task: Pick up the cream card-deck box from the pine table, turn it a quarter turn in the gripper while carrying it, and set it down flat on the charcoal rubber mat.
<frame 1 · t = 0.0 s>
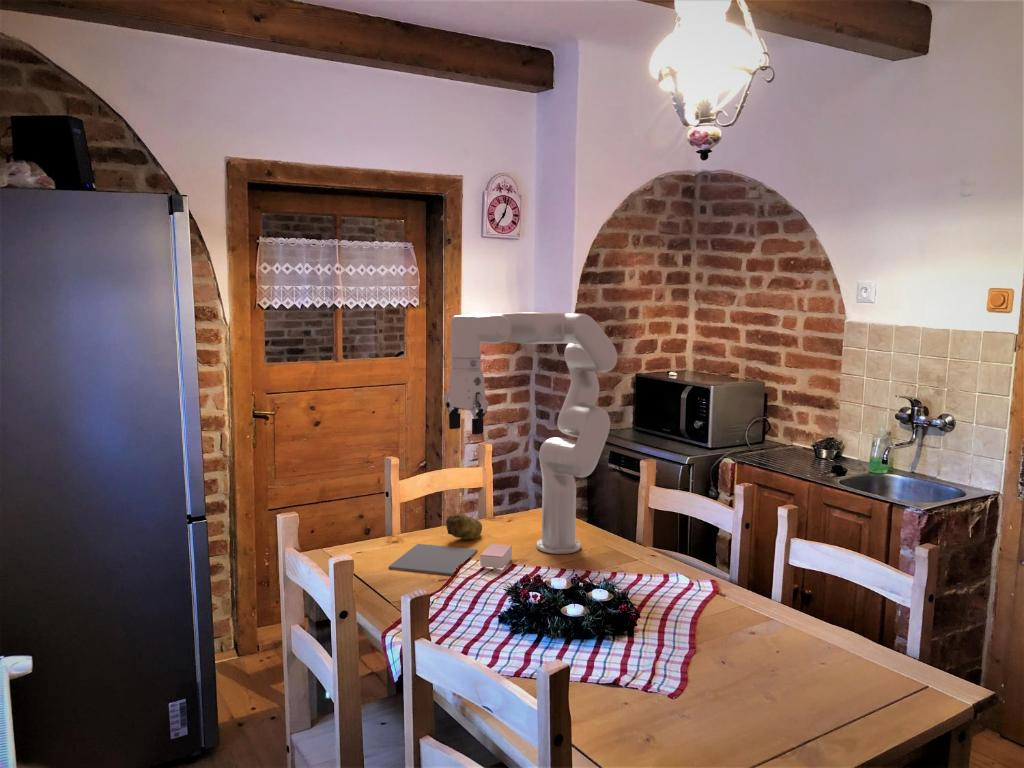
hand: (466, 431, 209), 37 cm above the table, tool pointing down, fingers open, 9 cm apart
mat: (434, 559, 224), on the table
card box: (496, 564, 221), on the table
olive green lumpy rock: (465, 539, 242), on the table
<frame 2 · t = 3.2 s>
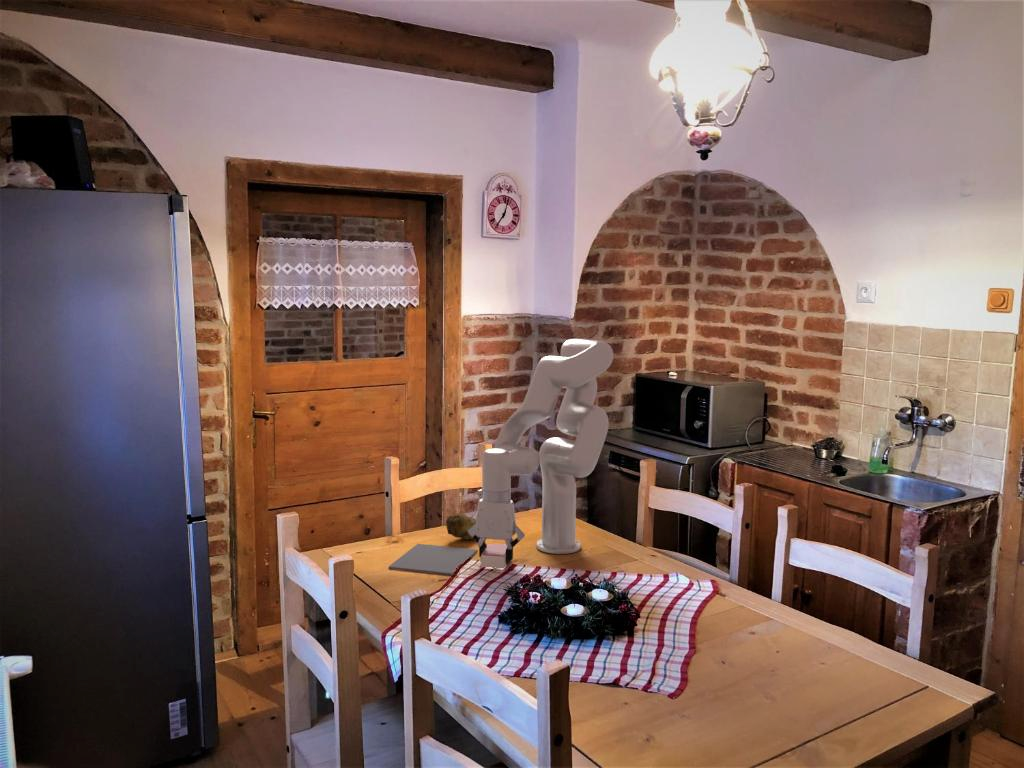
hand: (496, 560, 221), 1 cm above the table, tool pointing down, fingers closed on card box, 6 cm apart
card box: (496, 563, 221), on the table, touching gripper
everything else where it was.
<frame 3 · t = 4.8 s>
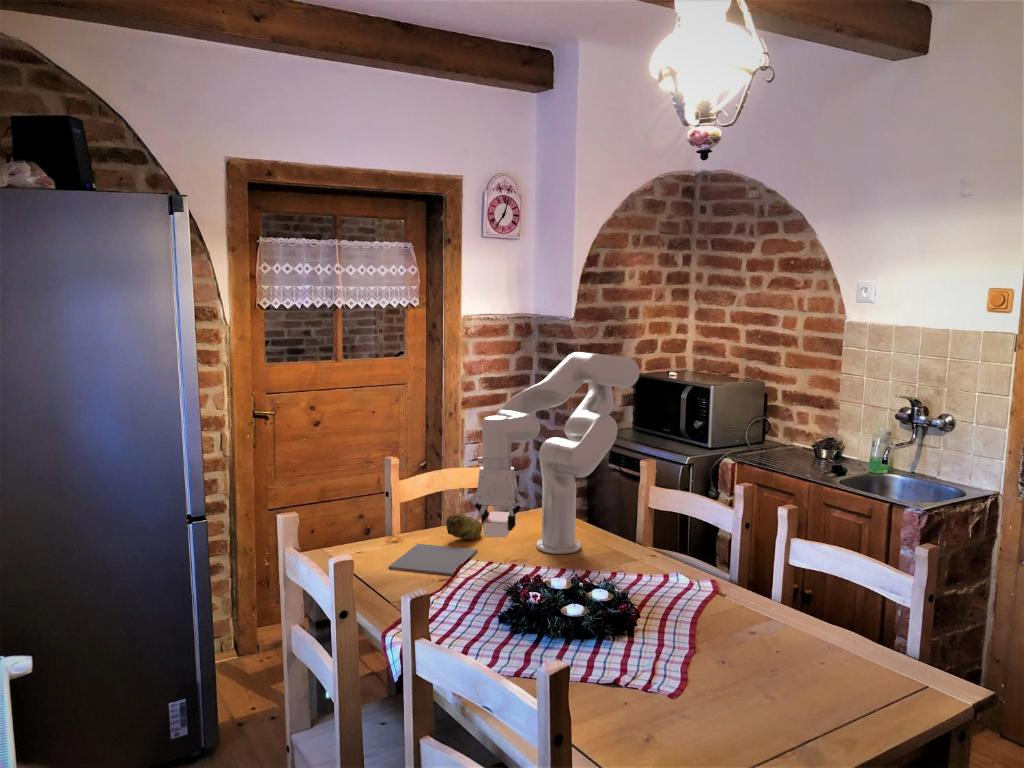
hand: (498, 527, 220), 10 cm above the table, tool pointing down, fingers closed on card box, 6 cm apart
card box: (498, 531, 221), point 9 cm above the table, touching gripper
everything else where it was.
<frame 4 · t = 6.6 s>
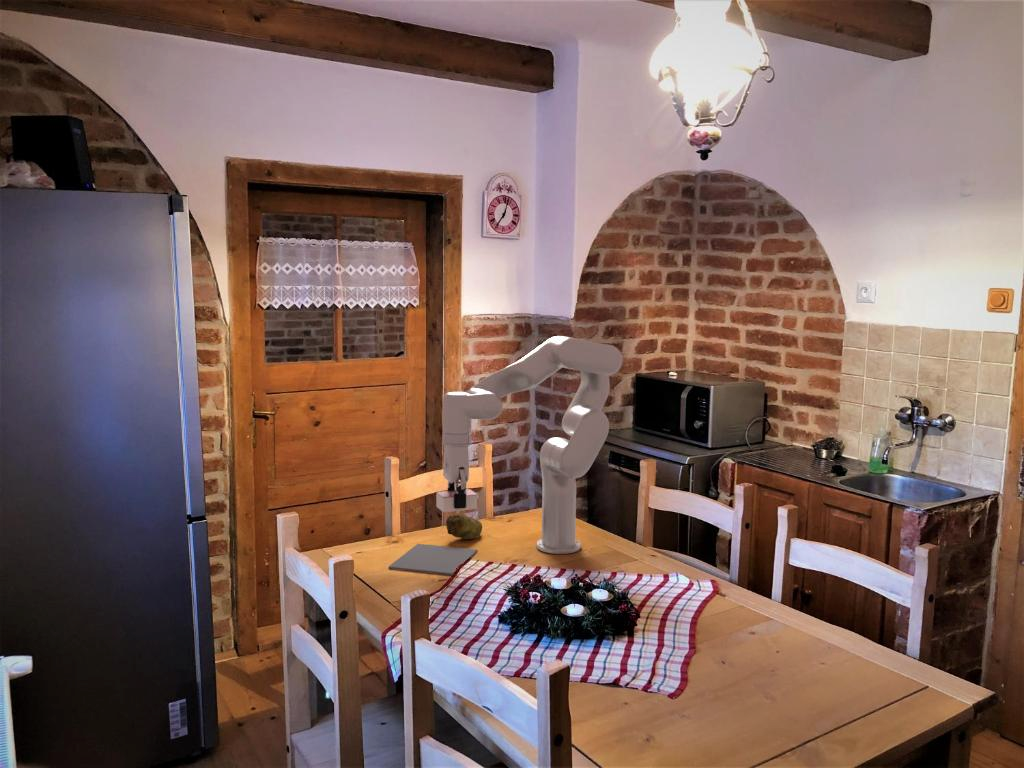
hand: (456, 504, 221), 16 cm above the table, tool pointing down, fingers closed on card box, 6 cm apart
card box: (456, 507, 221), point 15 cm above the table, touching gripper
everything else where it was.
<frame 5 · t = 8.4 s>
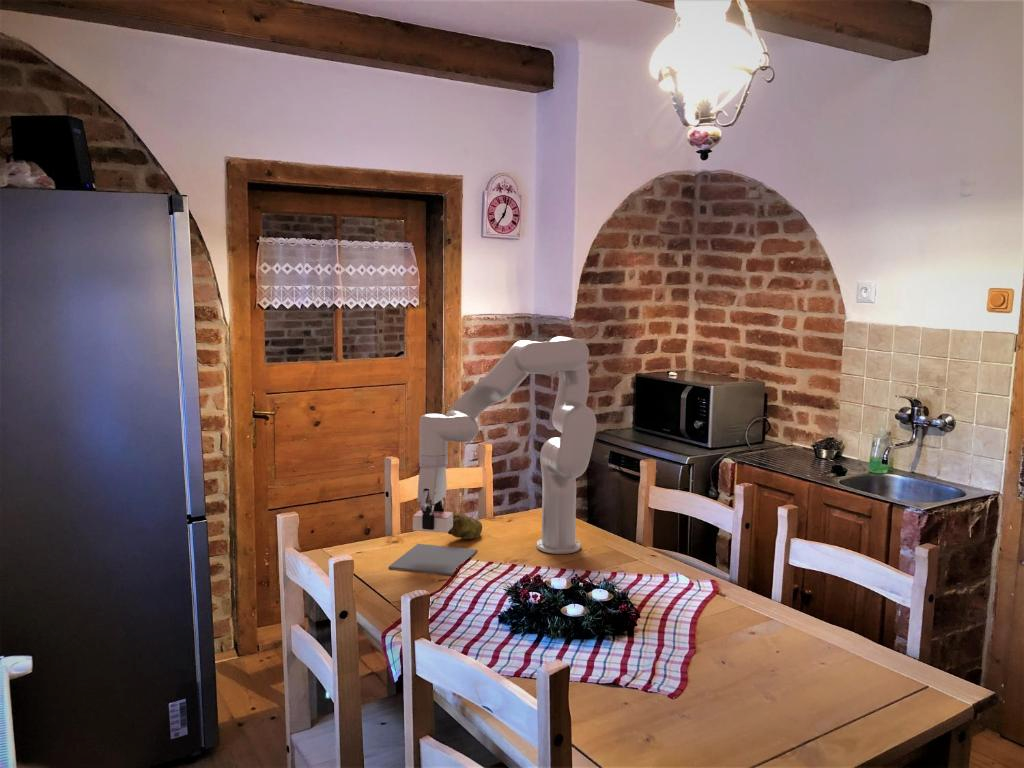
hand: (433, 524, 222), 10 cm above the table, tool pointing down, fingers closed on card box, 6 cm apart
card box: (433, 528, 223), point 9 cm above the table, touching gripper
everything else where it was.
when the fingers open (3 cm above the table, at t = 10.1 s): card box drops 1 cm, resting on mat.
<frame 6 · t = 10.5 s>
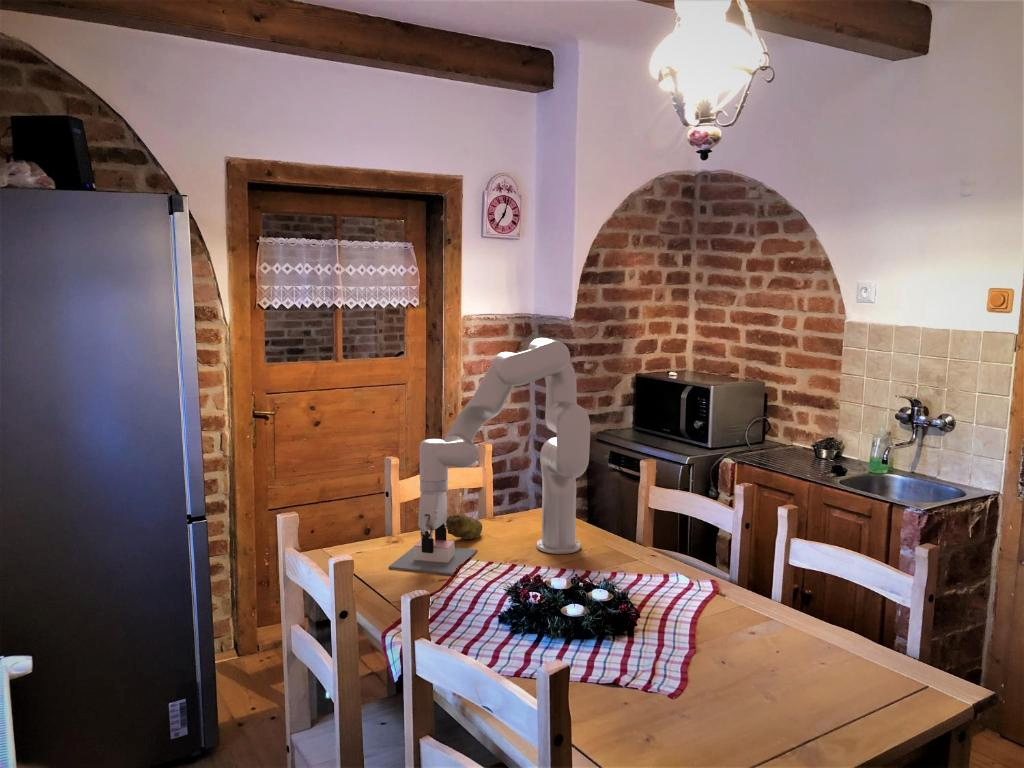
hand: (434, 547, 223), 4 cm above the table, tool pointing down, fingers open, 9 cm apart
card box: (434, 557, 224), point 1 cm above the table, touching mat
everything else where it was.
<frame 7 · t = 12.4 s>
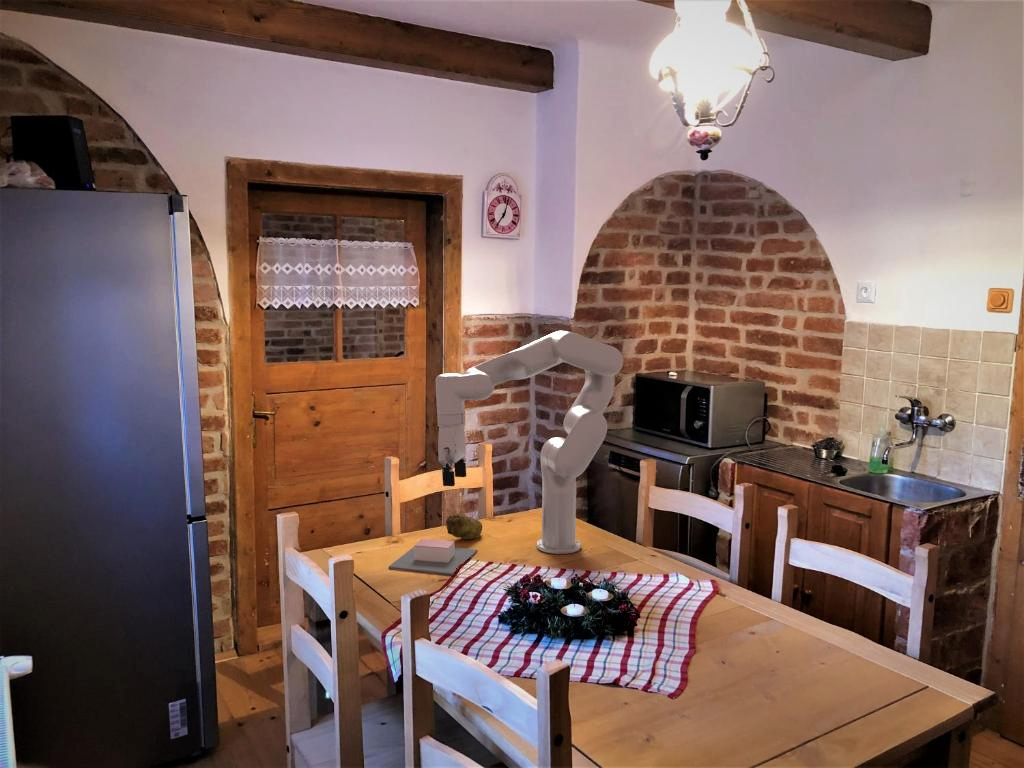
hand: (454, 481, 225), 21 cm above the table, tool pointing down, fingers open, 9 cm apart
nothing on the table moved.
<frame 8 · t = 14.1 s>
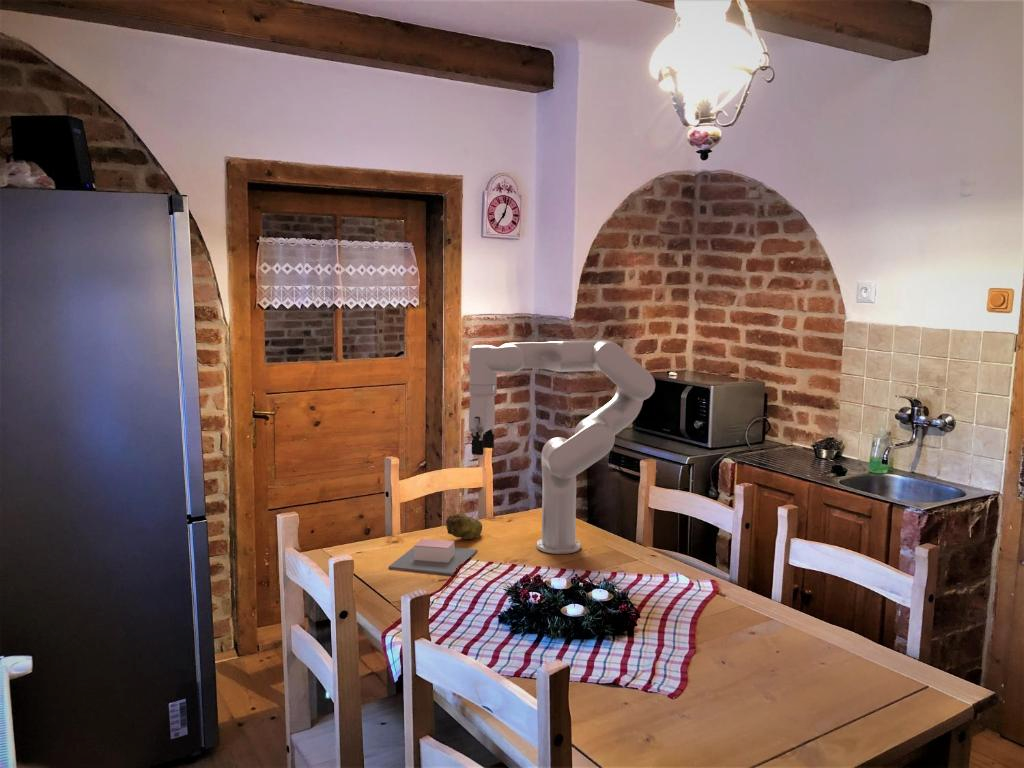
hand: (483, 451, 229), 28 cm above the table, tool pointing down, fingers open, 9 cm apart
nothing on the table moved.
at the end: card box inside the target area on the mat (0.1 cm from its centre), point 0.6 cm above the mat's base; card box tilted 0°; card box touching mat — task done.
